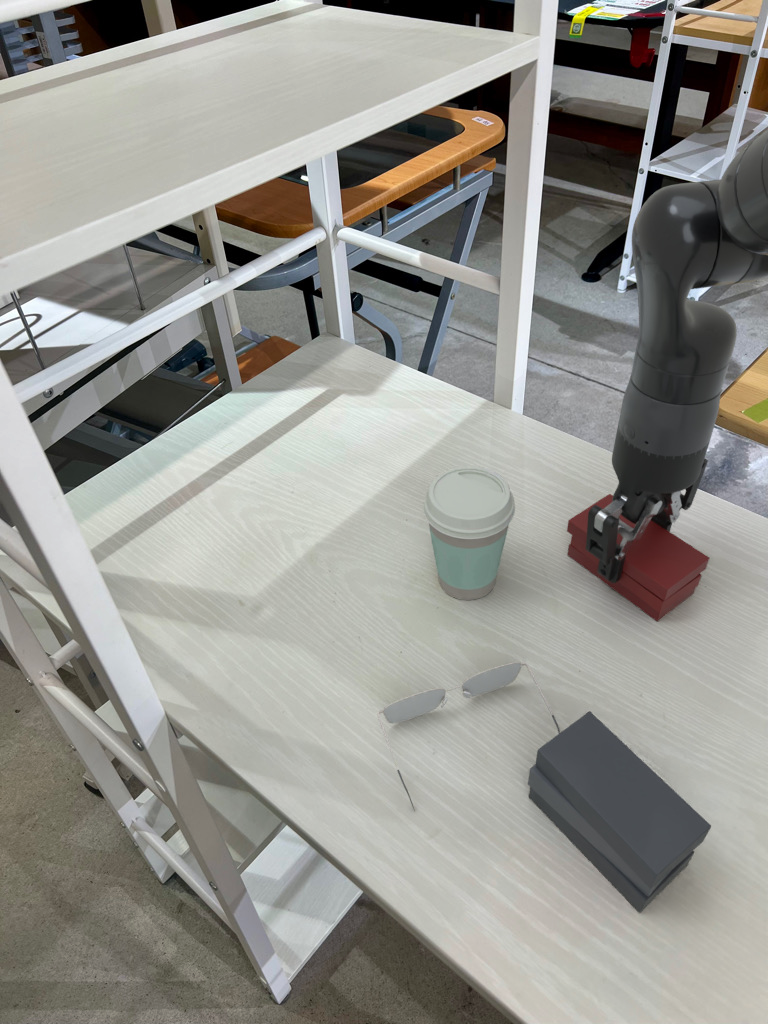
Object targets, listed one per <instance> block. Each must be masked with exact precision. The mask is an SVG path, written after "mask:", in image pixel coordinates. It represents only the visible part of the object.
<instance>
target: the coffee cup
mask: <svg viewBox="0 0 768 1024" xmlns="http://www.w3.org/2000/svg"><path fill="white" fill-rule="evenodd" d="M422 511H423V515H424V517H425V519H426V521H427V522H428V528H429V533H430V539H431V540H430V541H431V546H432V549H433V550H432V551H433V557H434V562H435V567H436V572H437V578H438V584H439V585H440V587H441V589H442V590H443V591H444V593H446V594H448V595H449V596H451V597H453V598H455V599H458V600H461V601H462V600H463V601H472V600H473V601H474V600H477V599H480V598H483V597H485V596H486V595H488V594H489V593H490V592H491V591H492V590H493V589H494V587H495V584H496V581H497V577H498V573H499V569H500V564H501V560H502V556H503V552H504V547H505V542H506V539H507V534H508V531H509V527H510V523H511V522H512V521H513V519H514V516H515V513H516V506H515V498H514V495H513V493H512V492H511V489H510V486H509V484H508V482H507V481H506V480H505V478H503V477H502V475H500V474H499V473H497V472H496V471H493V470H491V469H488V468H486V467H481V466H476V465H463V466H456V467H452V468H449V469H446V470H444V471H443V472H441V473H440V474H438V475H437V476H435V477H434V479H433V480H432V481H431V482H430V485H429V487H428V489H427V491H426V493H425V495H424V499H423V504H422Z"/></svg>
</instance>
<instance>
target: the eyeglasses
mask: <svg viewBox="0 0 768 1024" xmlns="http://www.w3.org/2000/svg"><path fill="white" fill-rule="evenodd" d="M522 666H526V668H527V670H528V672H529V674H530V676H531V678H532V680H533V682H534V685H536V688H537V690H538V692H539V694H540V696H541V698H542V699H543V701H544V703H545V705H546V707H547V709H548V711H549V713H550V715H551V718H552V720H553V722H554V724H555V727H556V729H557V732H558V734H559V733H561V730H560V727H559V724H558V722H557V720H556V717H555V715H554V714H553V711H552V710H551V707H550V706H549V704H548V702H547V700H546V698H545V696H544V694H543V692H542V690H541V688H540V685H539V683H538V681H537V679H536V677H535V675H534V673H533V671H532V669H531V667H530V665H529V664H528V663H527V662H526V661H524V662H521V661H514V662H509V663H505V664H502V665H498V666H495V667H492V668H488V669H485V670H484V671H480V672H478V673H475V674H473V675H471V676H469V677H468V678H466V679H465V680H464V681H463V682H462V683H461V684H458V685H457V686H454V687H451V688H447V689H445V688H444V687H436V688H435V687H434V688H431V689H426V690H423V691H421V692H420V691H419V692H416V693H414V694H411V695H409V696H406V697H403V698H400V699H398V700H396V701H393V702H391V703H389V704H387V705H386V706H385V707H384V708H383V709H380V710H378V711H377V714H376V715H377V720H378V722H379V725H380V727H381V730H382V733H383V736H384V738H385V741H386V743H387V746H388V748H389V751H390V754H391V757H392V760H393V762H394V765H395V767H396V772H397V774H398V776H399V778H400V781H401V784H402V785H403V788H404V790H405V791H406V794H407V797H408V799H409V801H410V804H411V806H412V808H413V811H414V812H416V809H415V806H414V804H413V801H412V798H411V795H410V794H409V791H408V788H407V786H406V784H405V782H404V779H403V777H402V774H401V771H400V769H399V767H398V764H397V762H396V759H395V756H394V753H393V749H392V748H391V744H390V742H389V739H388V736H387V734H386V730H385V727H384V725H383V722H382V719H381V715H380V714H383V716H384V719H385V720H386V721H387V722H388V723H389V724H399V723H403V722H406V721H408V720H409V721H410V720H411V719H415V718H417V717H420V716H422V715H425V714H428V713H431V712H433V711H434V710H436V709H437V708H438V707H439V706H440V705H441V704H442V705H441V706H440V707H441V708H442V709H443V708H444V707H445V705H446V703H447V702H448V700H449V697H447V696H446V694H447V693H446V692H449V691H453V690H456V689H458V688H460V687H461V690H462V695H463V697H464V698H466V699H469V700H470V699H472V698H474V697H479V696H482V695H484V694H488V693H491V692H494V691H497V690H500V689H502V688H505V687H507V686H509V685H510V684H512V683H513V682H514V681H515V680H517V677H518V675H519V674H520V671H521V669H522Z"/></svg>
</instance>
